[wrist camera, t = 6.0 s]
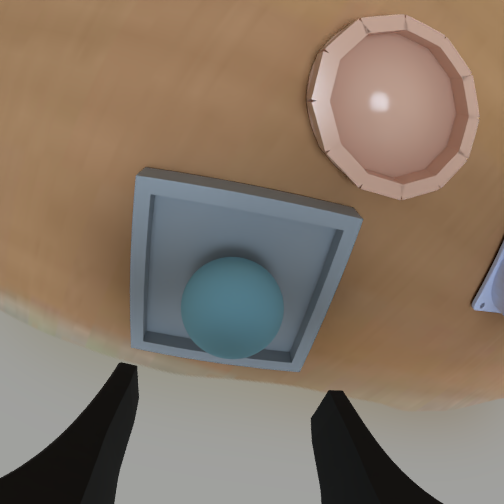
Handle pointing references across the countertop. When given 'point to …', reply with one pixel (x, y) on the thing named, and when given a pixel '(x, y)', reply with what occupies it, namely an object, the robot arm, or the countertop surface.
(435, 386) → the countertop surface
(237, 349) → the ball
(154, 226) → the tray
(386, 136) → the dish
